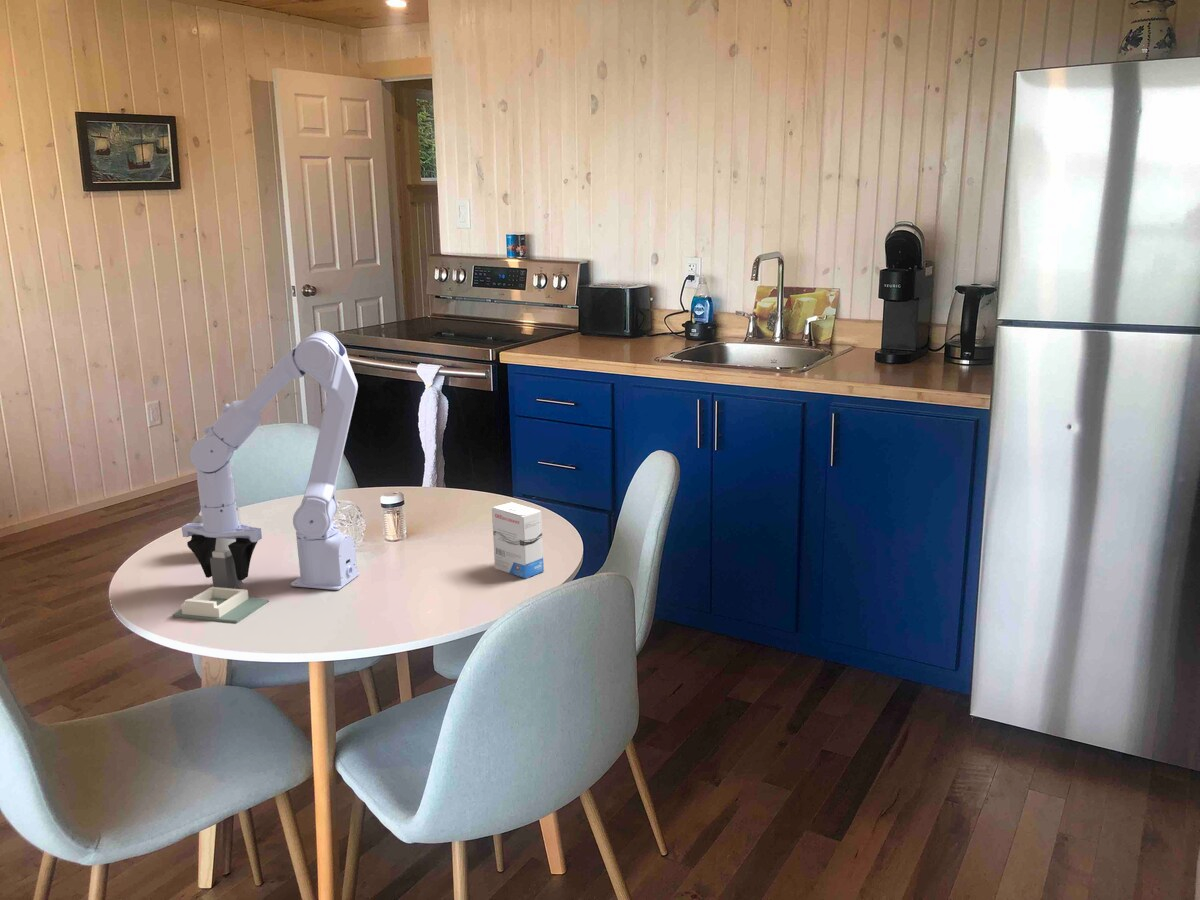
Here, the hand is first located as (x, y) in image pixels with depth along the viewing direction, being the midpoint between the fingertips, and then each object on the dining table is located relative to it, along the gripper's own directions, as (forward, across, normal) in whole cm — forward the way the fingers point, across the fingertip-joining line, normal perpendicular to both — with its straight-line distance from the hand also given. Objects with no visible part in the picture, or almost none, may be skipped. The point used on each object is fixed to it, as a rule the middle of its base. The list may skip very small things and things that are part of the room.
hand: (227, 577), depth 171 cm
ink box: (+2, -48, -18) cm, 51 cm away
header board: (+2, -5, +9) cm, 10 cm away
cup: (+2, +12, -14) cm, 19 cm away
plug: (+2, 0, 0) cm, 2 cm away
